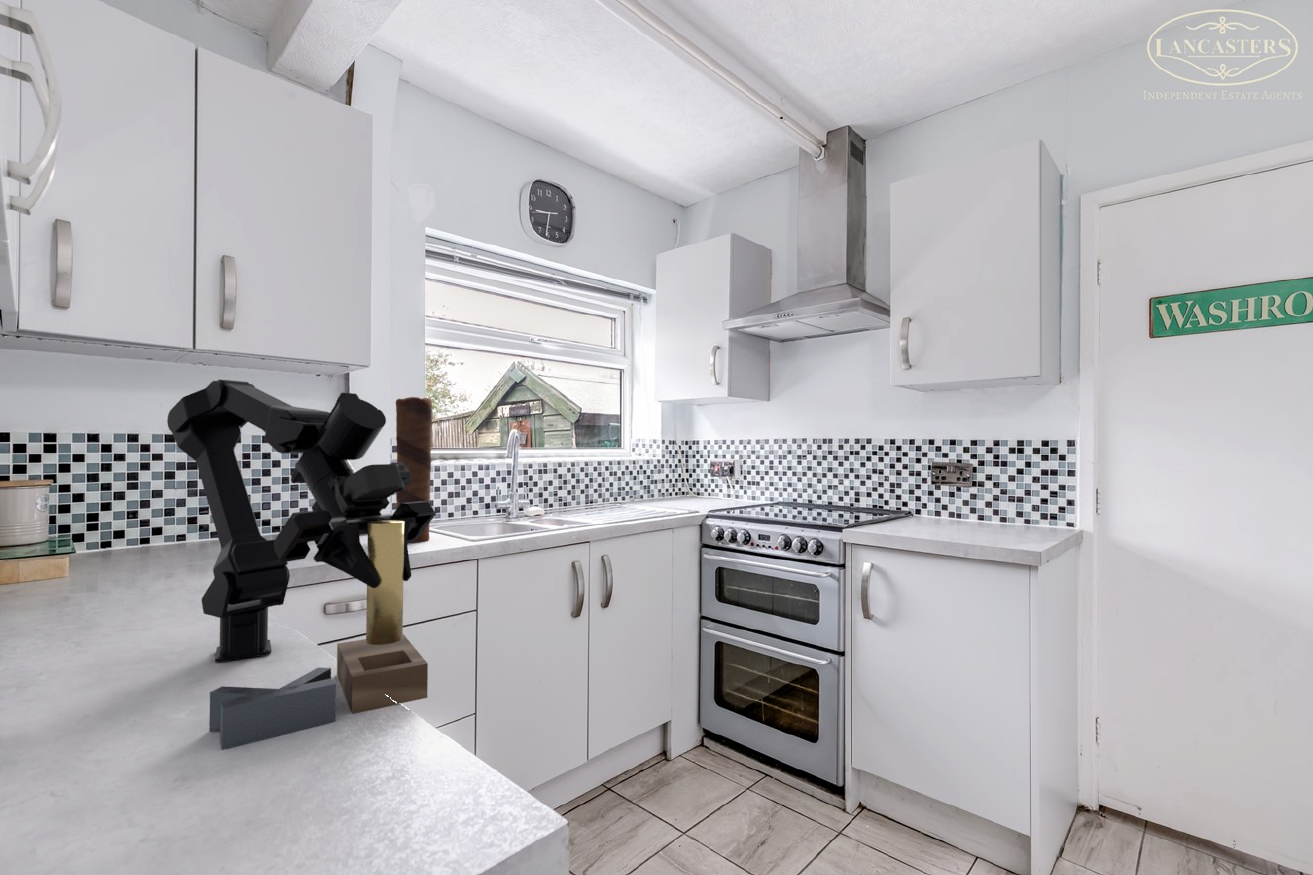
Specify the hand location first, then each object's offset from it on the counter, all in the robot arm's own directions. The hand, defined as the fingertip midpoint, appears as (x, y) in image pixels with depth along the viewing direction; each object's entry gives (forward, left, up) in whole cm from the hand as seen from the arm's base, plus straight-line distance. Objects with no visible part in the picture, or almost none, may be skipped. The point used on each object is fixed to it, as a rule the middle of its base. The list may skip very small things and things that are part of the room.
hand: (393, 582), depth 74 cm
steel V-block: (+1, -12, -13) cm, 18 cm away
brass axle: (-1, -1, -7) cm, 7 cm away
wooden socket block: (-4, -1, -13) cm, 14 cm away
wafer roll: (-127, +29, -14) cm, 131 cm away
